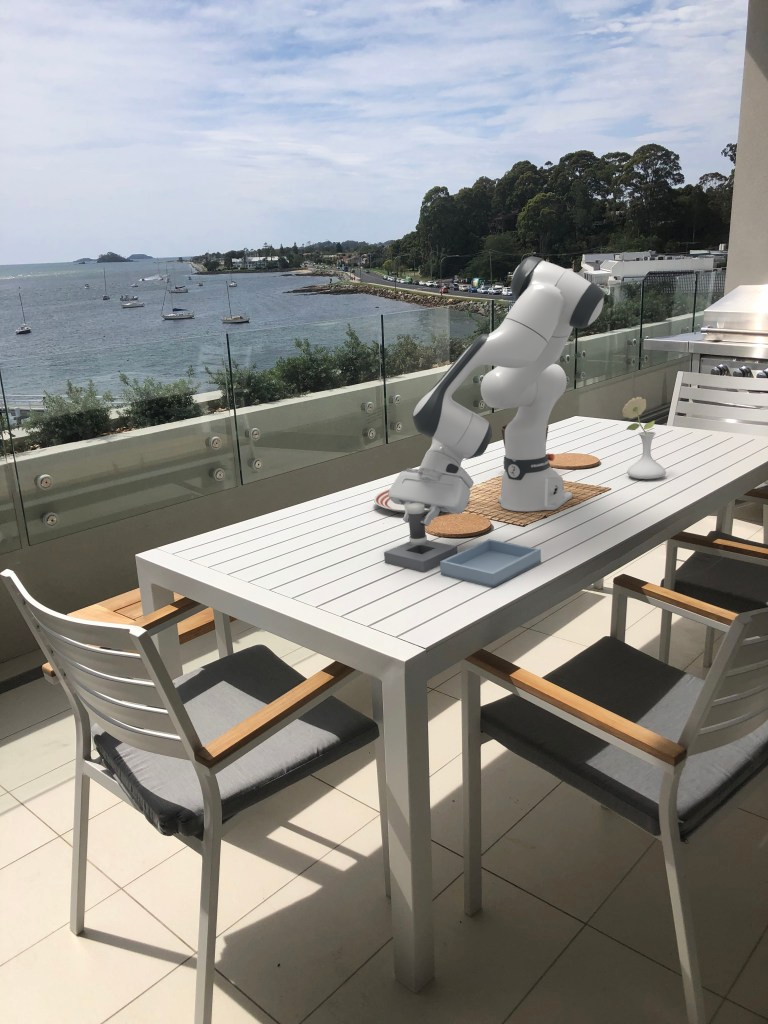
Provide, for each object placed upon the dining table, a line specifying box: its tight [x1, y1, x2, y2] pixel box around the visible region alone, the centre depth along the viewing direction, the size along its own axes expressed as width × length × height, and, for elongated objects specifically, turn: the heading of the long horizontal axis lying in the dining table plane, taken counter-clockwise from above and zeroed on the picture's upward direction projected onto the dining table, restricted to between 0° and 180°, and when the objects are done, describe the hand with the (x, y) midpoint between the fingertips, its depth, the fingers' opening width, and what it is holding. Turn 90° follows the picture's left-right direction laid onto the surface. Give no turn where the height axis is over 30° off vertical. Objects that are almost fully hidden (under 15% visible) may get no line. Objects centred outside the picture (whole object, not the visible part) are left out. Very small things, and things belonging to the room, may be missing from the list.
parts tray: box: [439, 538, 542, 589], centre depth 167 cm, size 18×14×3 cm
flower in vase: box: [621, 396, 667, 480], centre depth 229 cm, size 13×11×25 cm
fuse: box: [407, 503, 428, 545], centre depth 174 cm, size 4×4×9 cm
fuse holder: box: [383, 539, 458, 573], centre depth 176 cm, size 12×12×2 cm
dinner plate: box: [373, 488, 431, 514], centre depth 221 cm, size 27×27×3 cm
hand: (415, 523), depth 174 cm, fingers closed on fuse, 4 cm apart
